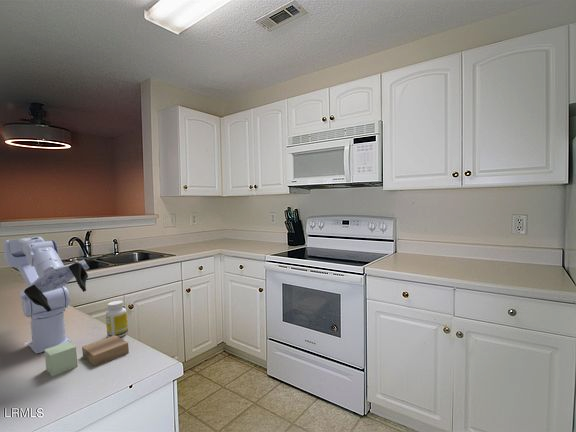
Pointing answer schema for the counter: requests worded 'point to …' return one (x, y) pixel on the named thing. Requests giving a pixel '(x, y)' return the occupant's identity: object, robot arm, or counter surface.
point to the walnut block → (105, 350)
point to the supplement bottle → (116, 319)
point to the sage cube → (60, 358)
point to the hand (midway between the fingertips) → (65, 298)
